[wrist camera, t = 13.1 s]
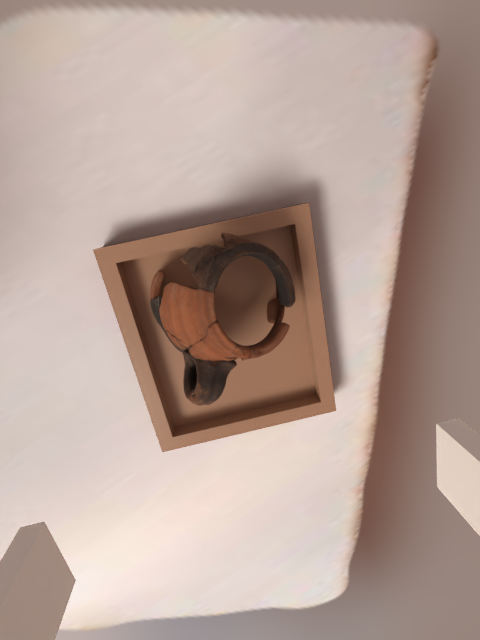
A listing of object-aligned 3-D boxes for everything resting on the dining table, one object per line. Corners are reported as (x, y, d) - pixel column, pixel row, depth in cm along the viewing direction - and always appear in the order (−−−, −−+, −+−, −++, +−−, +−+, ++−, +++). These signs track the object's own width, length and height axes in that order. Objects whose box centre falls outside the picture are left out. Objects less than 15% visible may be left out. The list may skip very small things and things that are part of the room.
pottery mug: (144, 232, 24) (194, 211, 18) (247, 254, 30) (315, 245, 23) (130, 391, 25) (173, 431, 18) (234, 385, 30) (297, 414, 23)
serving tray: (165, 437, 30) (162, 452, 28) (101, 247, 24) (93, 249, 23) (327, 398, 30) (336, 410, 28) (301, 204, 25) (309, 202, 23)
